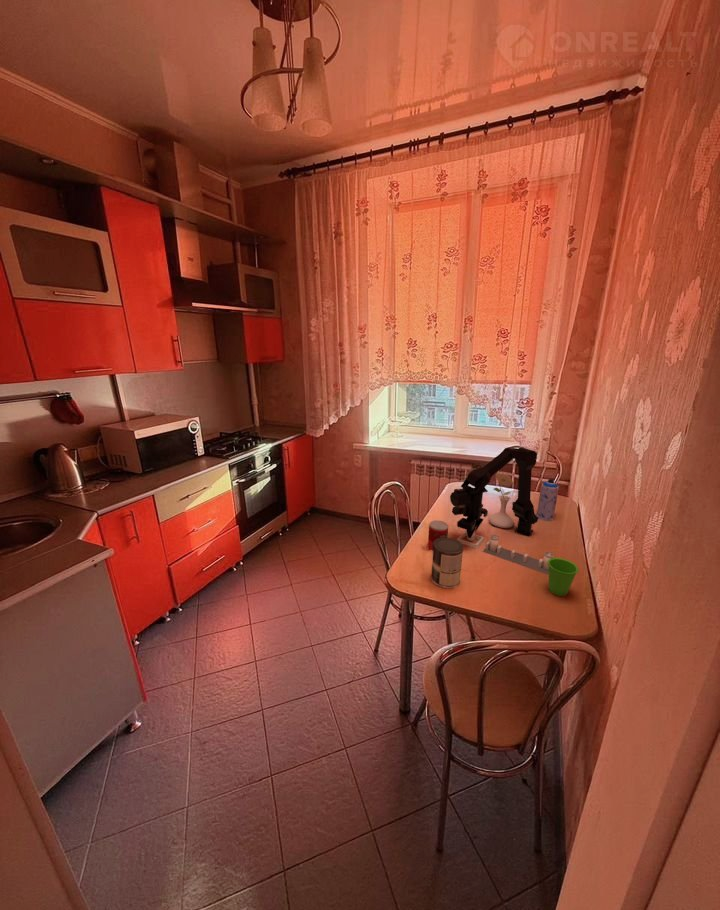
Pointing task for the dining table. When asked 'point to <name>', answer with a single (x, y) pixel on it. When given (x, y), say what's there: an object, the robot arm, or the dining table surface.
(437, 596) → the dining table surface
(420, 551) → the dining table surface
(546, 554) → the cylinder
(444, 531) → the canned food
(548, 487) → the aerosol can
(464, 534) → the tray
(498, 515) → the flower in vase
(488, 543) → the fuse block
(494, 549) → the cylinder
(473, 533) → the cylinder
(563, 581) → the cup
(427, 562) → the dining table surface
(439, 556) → the coffee can
